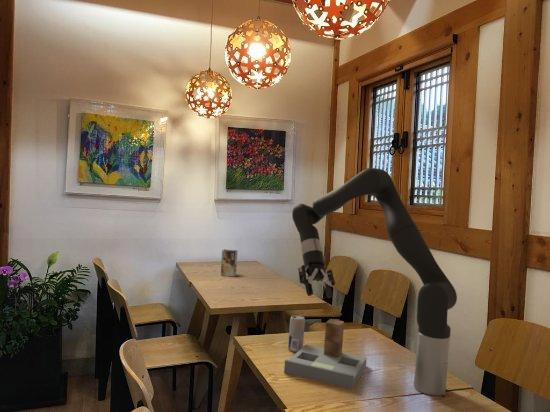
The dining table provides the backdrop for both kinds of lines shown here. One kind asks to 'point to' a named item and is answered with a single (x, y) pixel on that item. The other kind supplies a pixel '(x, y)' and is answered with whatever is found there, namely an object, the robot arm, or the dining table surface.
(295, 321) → the energy drink
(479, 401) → the dining table surface
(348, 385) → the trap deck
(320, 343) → the dining table surface
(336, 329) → the walnut block
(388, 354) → the dining table surface
